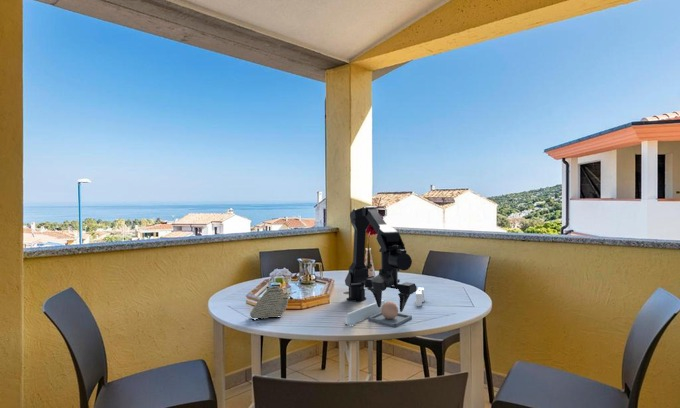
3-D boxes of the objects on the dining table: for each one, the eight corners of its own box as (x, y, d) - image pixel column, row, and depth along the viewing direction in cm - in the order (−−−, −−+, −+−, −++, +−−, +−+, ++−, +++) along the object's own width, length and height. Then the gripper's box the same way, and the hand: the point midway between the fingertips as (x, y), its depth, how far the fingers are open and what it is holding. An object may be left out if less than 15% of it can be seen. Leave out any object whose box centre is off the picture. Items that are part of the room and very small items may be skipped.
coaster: (368, 320, 126) (368, 317, 126) (385, 312, 135) (385, 310, 135) (395, 327, 119) (395, 324, 119) (411, 318, 128) (411, 315, 128)
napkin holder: (421, 309, 140) (421, 295, 140) (399, 303, 149) (399, 290, 149) (443, 302, 150) (443, 288, 150) (421, 297, 159) (421, 284, 159)
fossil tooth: (249, 320, 132) (288, 311, 138) (252, 324, 127) (293, 315, 132) (246, 289, 132) (285, 282, 138) (248, 292, 127) (289, 284, 133)
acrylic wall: (344, 324, 123) (344, 313, 123) (380, 309, 139) (380, 299, 139) (351, 326, 121) (351, 314, 121) (386, 310, 137) (386, 300, 137)
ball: (378, 319, 127) (377, 302, 127) (387, 315, 131) (387, 298, 131) (392, 322, 123) (392, 305, 123) (401, 318, 127) (401, 301, 127)
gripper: (355, 266, 127) (355, 309, 127) (400, 272, 115) (401, 320, 115) (372, 262, 135) (373, 302, 135) (417, 267, 123) (417, 312, 123)
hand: (390, 309), depth 127 cm, fingers open, 9 cm apart
